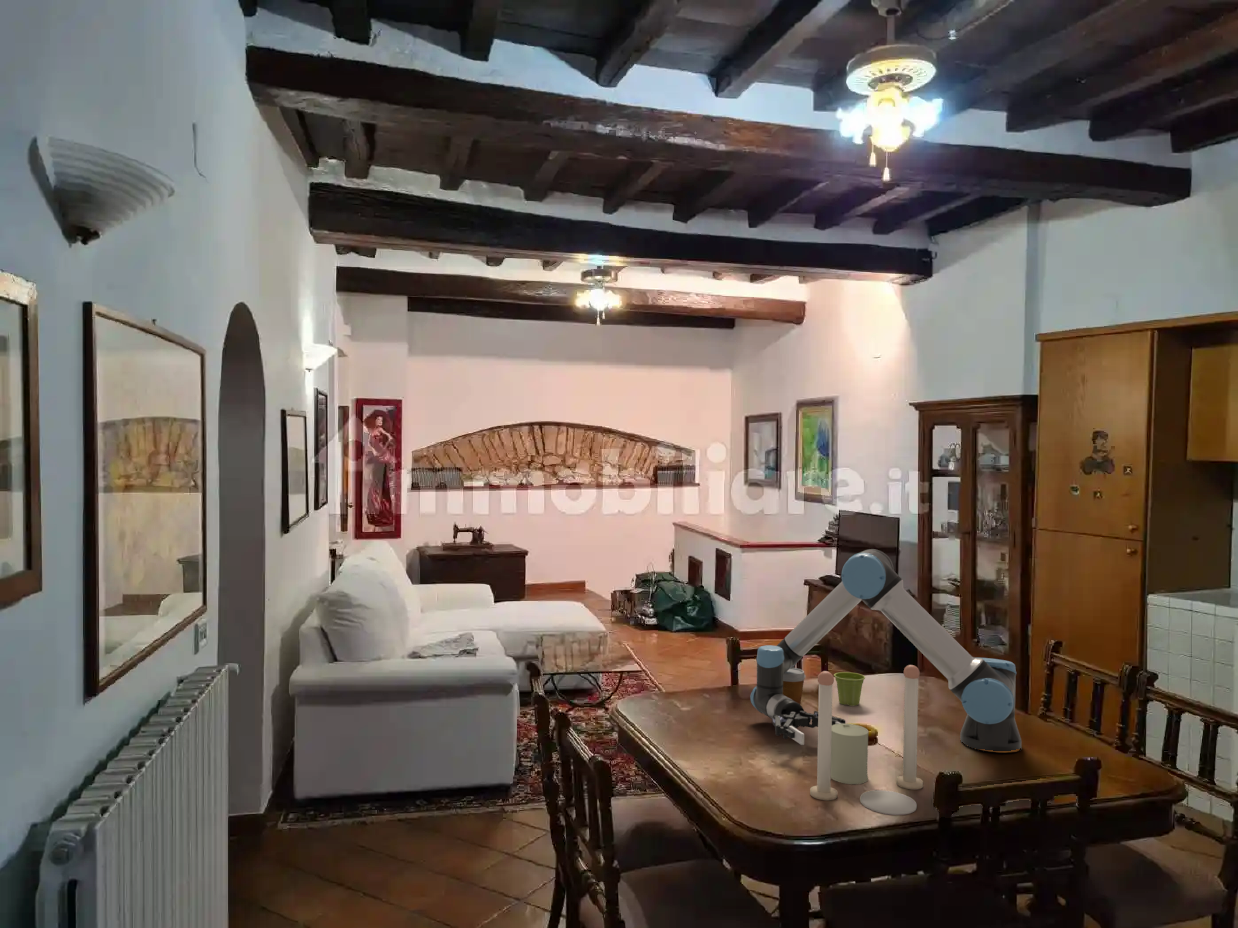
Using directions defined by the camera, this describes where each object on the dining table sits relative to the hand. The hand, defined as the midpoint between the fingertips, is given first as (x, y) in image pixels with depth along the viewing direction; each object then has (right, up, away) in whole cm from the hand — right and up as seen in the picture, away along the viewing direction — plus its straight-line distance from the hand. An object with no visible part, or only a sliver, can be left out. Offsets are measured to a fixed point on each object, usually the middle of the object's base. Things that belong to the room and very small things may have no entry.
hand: (827, 737), depth 214 cm
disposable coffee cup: (-1, -6, +44) cm, 44 cm away
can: (+3, -7, -9) cm, 12 cm away
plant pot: (+20, -6, +52) cm, 56 cm away
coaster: (+8, -7, -24) cm, 27 cm away
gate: (+5, -7, -17) cm, 19 cm away
